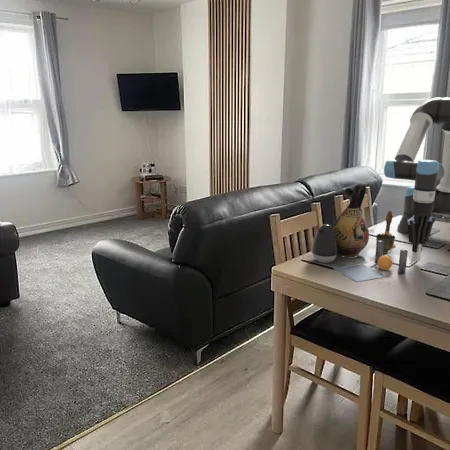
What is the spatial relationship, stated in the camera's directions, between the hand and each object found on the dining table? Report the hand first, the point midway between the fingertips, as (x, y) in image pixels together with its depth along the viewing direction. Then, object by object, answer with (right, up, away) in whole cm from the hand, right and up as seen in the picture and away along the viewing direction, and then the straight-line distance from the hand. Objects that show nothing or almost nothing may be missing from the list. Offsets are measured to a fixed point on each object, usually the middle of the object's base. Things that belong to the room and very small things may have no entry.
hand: (415, 259), depth 177 cm
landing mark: (-25, -4, -9) cm, 27 cm away
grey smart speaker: (-36, -1, +3) cm, 36 cm away
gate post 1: (-14, -1, +1) cm, 15 cm away
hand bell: (-3, +4, +24) cm, 24 cm away
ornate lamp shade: (-8, +1, +12) cm, 15 cm away
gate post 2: (-10, -5, -10) cm, 15 cm away
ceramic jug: (-23, +1, +12) cm, 26 cm away
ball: (-15, -1, -7) cm, 16 cm away
